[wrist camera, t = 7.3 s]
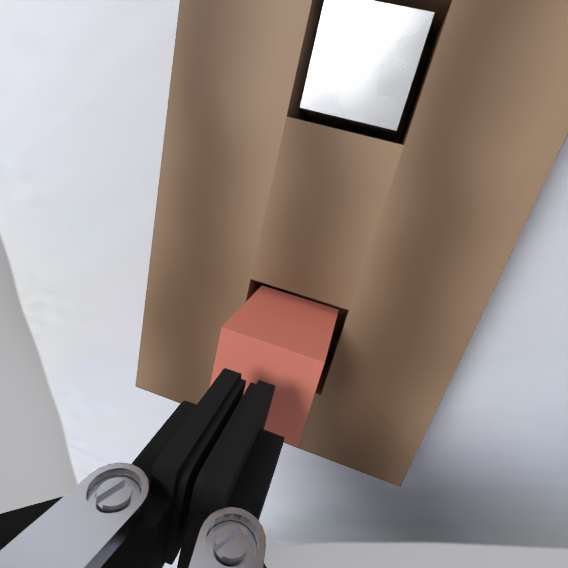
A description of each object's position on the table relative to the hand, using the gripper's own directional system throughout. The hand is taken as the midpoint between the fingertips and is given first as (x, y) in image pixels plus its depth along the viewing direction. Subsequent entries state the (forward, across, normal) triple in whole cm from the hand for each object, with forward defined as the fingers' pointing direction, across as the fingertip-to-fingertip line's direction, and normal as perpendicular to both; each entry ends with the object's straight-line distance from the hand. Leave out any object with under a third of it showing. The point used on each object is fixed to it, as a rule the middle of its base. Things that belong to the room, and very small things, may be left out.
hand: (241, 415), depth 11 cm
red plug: (+6, 0, 0) cm, 6 cm away
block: (+12, 0, -6) cm, 13 cm away
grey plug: (+10, 0, -11) cm, 15 cm away
